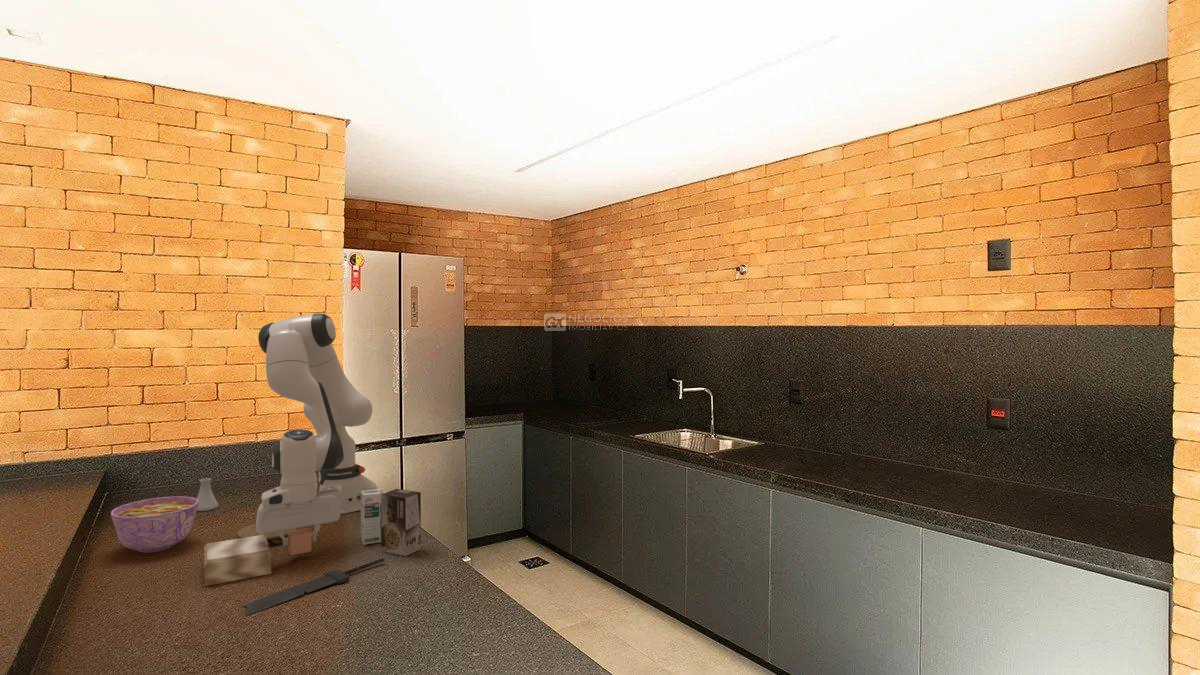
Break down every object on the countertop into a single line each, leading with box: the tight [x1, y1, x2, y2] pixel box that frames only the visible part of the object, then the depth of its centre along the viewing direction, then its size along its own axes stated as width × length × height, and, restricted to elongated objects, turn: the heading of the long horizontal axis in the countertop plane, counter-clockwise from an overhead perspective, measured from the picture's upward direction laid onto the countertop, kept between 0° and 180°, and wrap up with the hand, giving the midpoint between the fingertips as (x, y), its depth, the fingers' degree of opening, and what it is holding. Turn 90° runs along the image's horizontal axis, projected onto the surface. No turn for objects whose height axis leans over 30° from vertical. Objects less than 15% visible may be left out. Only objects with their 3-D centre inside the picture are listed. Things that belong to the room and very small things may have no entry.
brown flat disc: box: [236, 523, 300, 548], centre depth 180 cm, size 16×16×3 cm
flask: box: [196, 477, 220, 512], centre depth 208 cm, size 7×7×10 cm
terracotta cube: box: [287, 527, 312, 556], centre depth 165 cm, size 5×5×5 cm
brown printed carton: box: [381, 488, 422, 557], centre depth 172 cm, size 9×6×16 cm
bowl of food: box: [110, 495, 199, 554], centre depth 172 cm, size 20×20×12 cm
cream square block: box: [203, 535, 272, 587], centre depth 157 cm, size 14×14×6 cm
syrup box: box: [360, 488, 384, 546], centre depth 179 cm, size 6×6×14 cm
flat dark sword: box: [242, 557, 385, 616], centre depth 148 cm, size 7×35×2 cm, turn 142°
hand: (299, 543), depth 165 cm, fingers closed on terracotta cube, 5 cm apart
